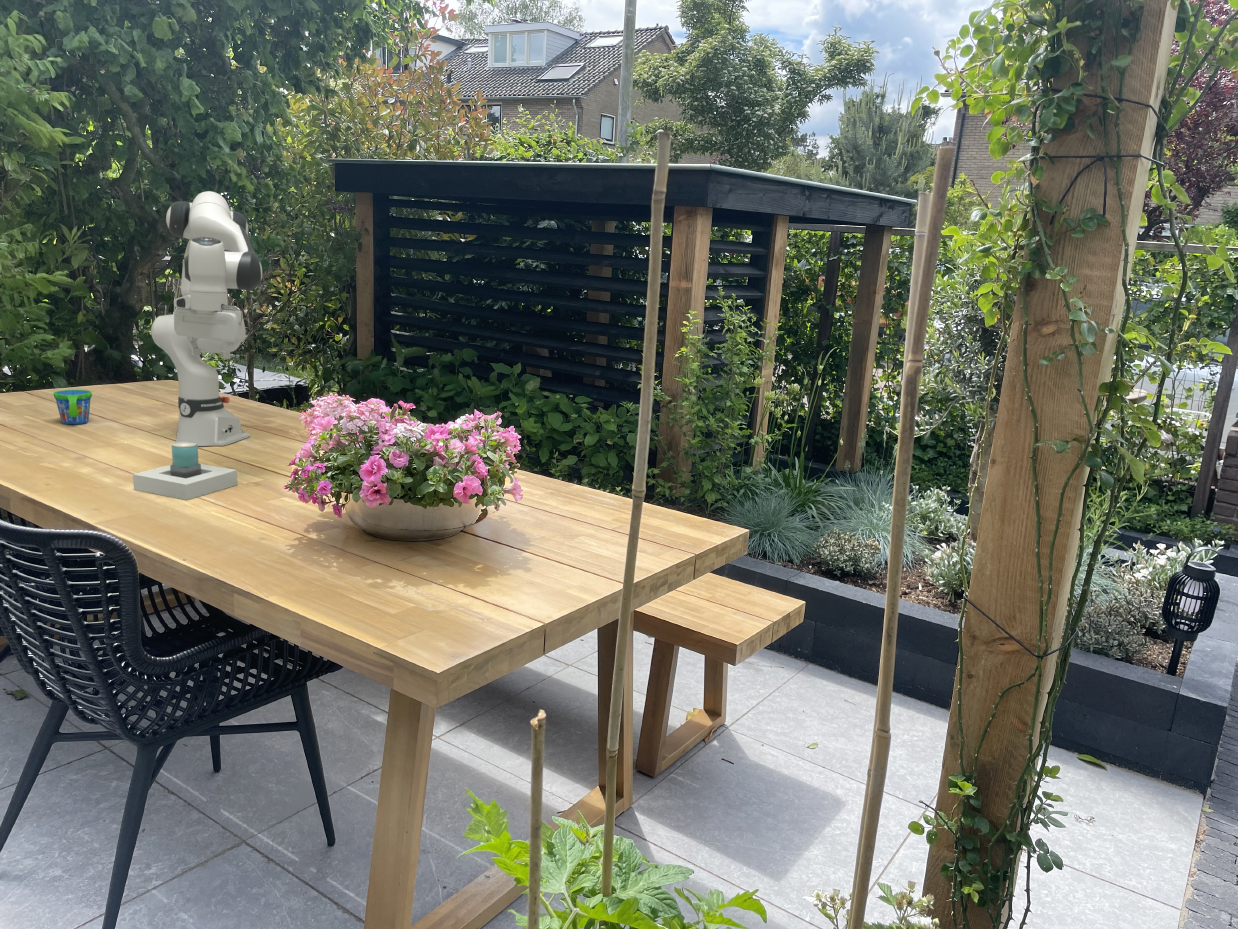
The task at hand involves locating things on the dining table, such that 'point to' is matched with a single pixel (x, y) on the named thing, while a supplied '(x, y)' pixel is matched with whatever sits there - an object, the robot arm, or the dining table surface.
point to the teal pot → (185, 454)
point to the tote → (185, 482)
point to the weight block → (185, 471)
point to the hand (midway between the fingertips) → (211, 356)
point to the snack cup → (73, 405)
